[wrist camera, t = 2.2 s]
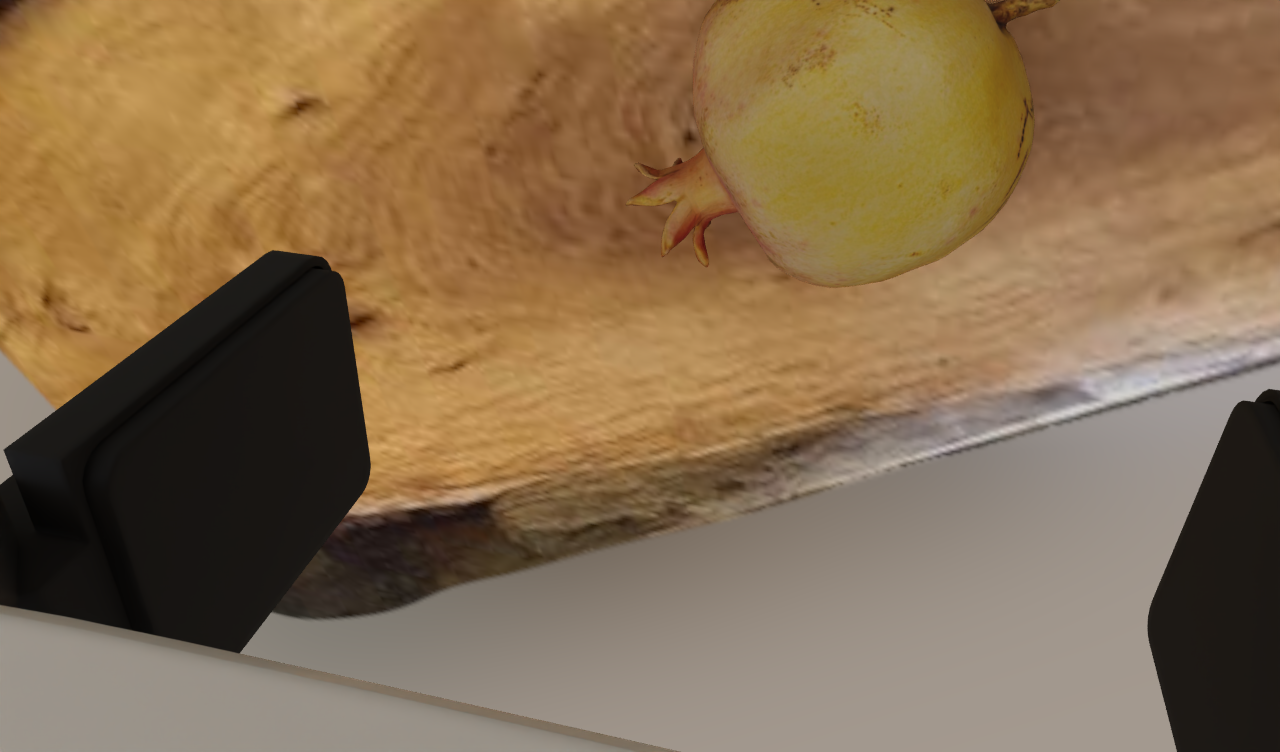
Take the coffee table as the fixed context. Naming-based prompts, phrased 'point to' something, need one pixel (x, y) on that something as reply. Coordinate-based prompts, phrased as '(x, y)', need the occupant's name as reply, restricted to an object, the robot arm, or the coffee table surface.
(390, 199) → the coffee table surface
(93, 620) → the robot arm
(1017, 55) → the fruit
